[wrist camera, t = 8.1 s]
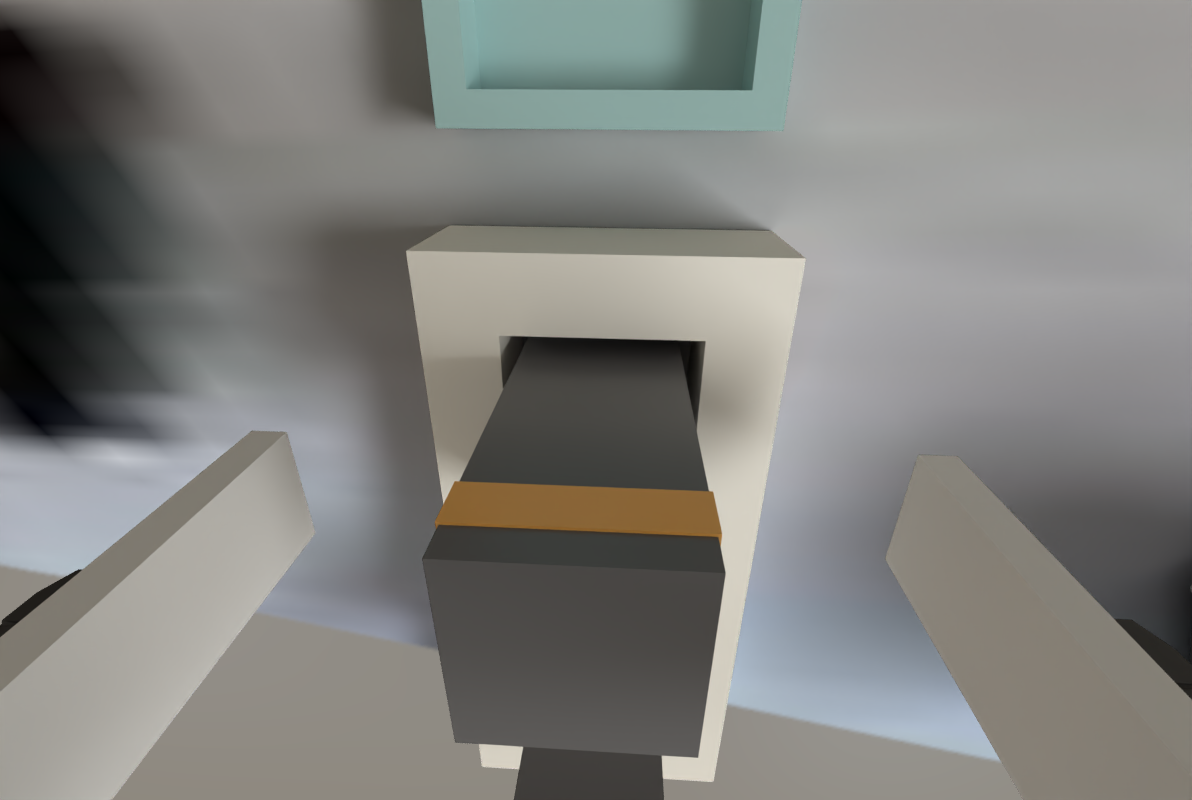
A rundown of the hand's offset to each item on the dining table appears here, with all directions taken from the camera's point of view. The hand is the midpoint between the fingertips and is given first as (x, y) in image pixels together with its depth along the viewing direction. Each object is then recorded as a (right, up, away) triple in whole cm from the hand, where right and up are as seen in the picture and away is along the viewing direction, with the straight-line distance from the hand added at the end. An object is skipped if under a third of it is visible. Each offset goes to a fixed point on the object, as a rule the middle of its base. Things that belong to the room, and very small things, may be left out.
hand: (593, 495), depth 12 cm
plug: (0, +3, +5) cm, 6 cm away
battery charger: (0, -2, +8) cm, 8 cm away
